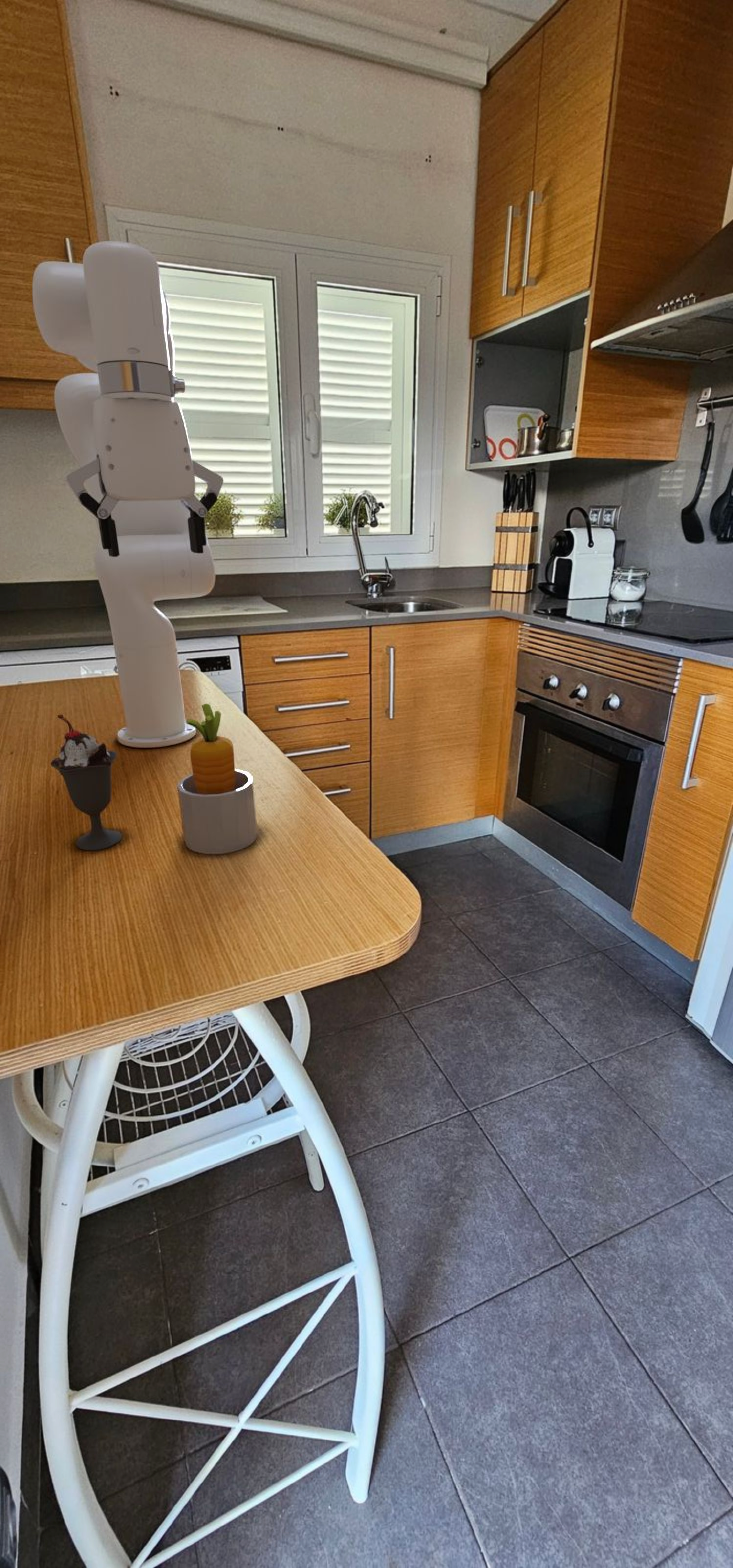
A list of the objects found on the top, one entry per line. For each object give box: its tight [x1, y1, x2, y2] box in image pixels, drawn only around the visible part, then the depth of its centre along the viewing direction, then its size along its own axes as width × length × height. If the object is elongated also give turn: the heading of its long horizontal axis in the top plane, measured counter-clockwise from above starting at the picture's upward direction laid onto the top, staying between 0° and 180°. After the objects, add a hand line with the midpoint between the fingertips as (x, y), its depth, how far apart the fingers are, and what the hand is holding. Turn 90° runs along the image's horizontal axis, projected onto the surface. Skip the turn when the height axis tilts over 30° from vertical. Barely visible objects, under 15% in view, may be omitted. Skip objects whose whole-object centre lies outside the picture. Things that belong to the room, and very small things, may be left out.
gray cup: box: [176, 768, 258, 855], centre depth 77 cm, size 8×8×7 cm
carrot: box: [185, 703, 236, 795], centre depth 75 cm, size 5×5×15 cm
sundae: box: [50, 714, 123, 851], centre depth 75 cm, size 7×7×15 cm
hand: (156, 554), depth 80 cm, fingers open, 9 cm apart
